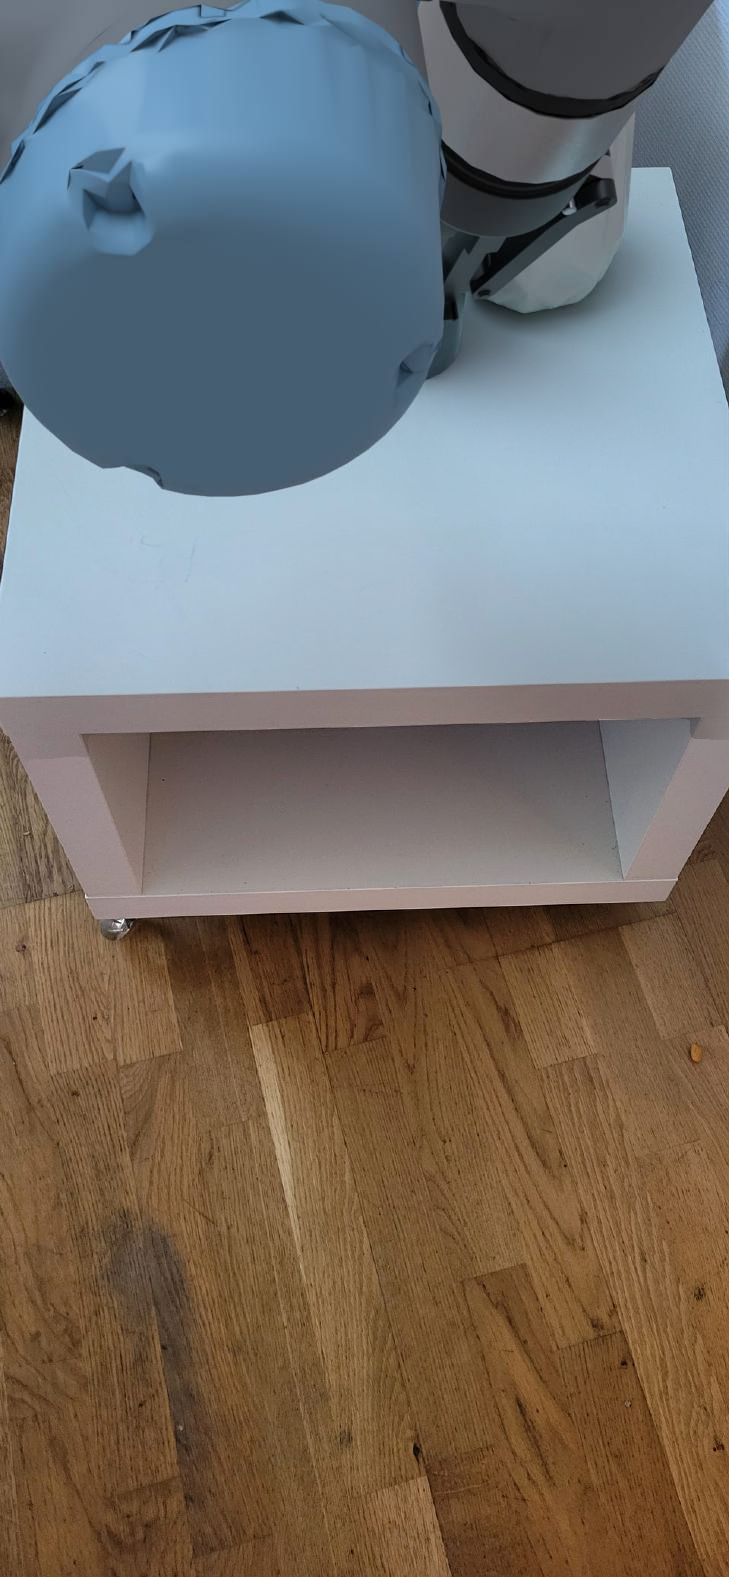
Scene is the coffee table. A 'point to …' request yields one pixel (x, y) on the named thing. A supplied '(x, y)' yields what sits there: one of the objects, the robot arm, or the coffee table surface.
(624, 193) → the vase
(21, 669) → the coffee table surface
